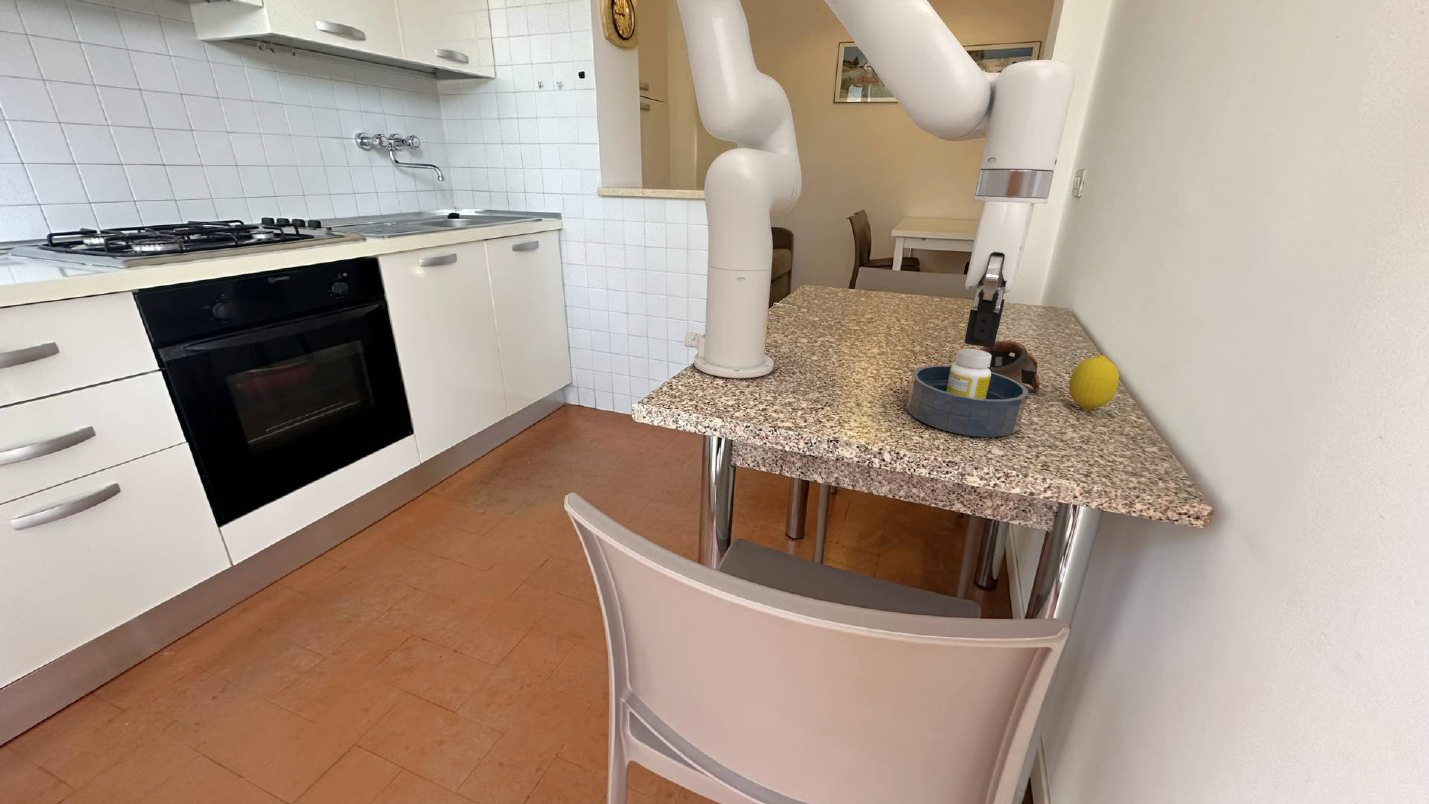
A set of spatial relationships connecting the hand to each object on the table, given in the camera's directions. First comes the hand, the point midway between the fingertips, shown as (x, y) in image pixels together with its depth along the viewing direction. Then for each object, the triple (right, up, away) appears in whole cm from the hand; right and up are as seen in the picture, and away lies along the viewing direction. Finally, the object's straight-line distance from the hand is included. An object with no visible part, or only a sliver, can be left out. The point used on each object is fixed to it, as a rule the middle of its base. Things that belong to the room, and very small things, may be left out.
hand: (981, 336), depth 70 cm
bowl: (-1, -10, +4) cm, 11 cm away
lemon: (+18, -10, +9) cm, 23 cm away
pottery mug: (+11, -6, +17) cm, 21 cm away
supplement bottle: (-1, -10, +4) cm, 11 cm away
